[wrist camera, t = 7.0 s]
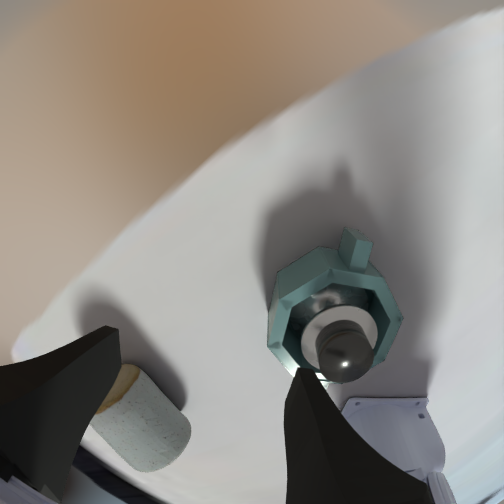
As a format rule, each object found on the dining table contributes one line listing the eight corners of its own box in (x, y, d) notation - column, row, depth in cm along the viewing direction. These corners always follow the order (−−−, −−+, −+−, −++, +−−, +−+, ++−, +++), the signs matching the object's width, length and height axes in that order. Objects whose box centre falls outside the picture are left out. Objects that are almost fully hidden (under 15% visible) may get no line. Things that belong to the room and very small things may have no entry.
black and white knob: (376, 277, 19) (411, 323, 13) (352, 344, 21) (373, 400, 15) (299, 263, 19) (311, 309, 13) (281, 334, 21) (283, 394, 15)
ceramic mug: (146, 348, 23) (108, 409, 16) (200, 409, 25) (182, 473, 18) (81, 374, 26) (45, 421, 18) (129, 425, 27) (105, 474, 20)
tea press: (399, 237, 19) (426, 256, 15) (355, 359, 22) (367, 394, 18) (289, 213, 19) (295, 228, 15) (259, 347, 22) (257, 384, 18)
